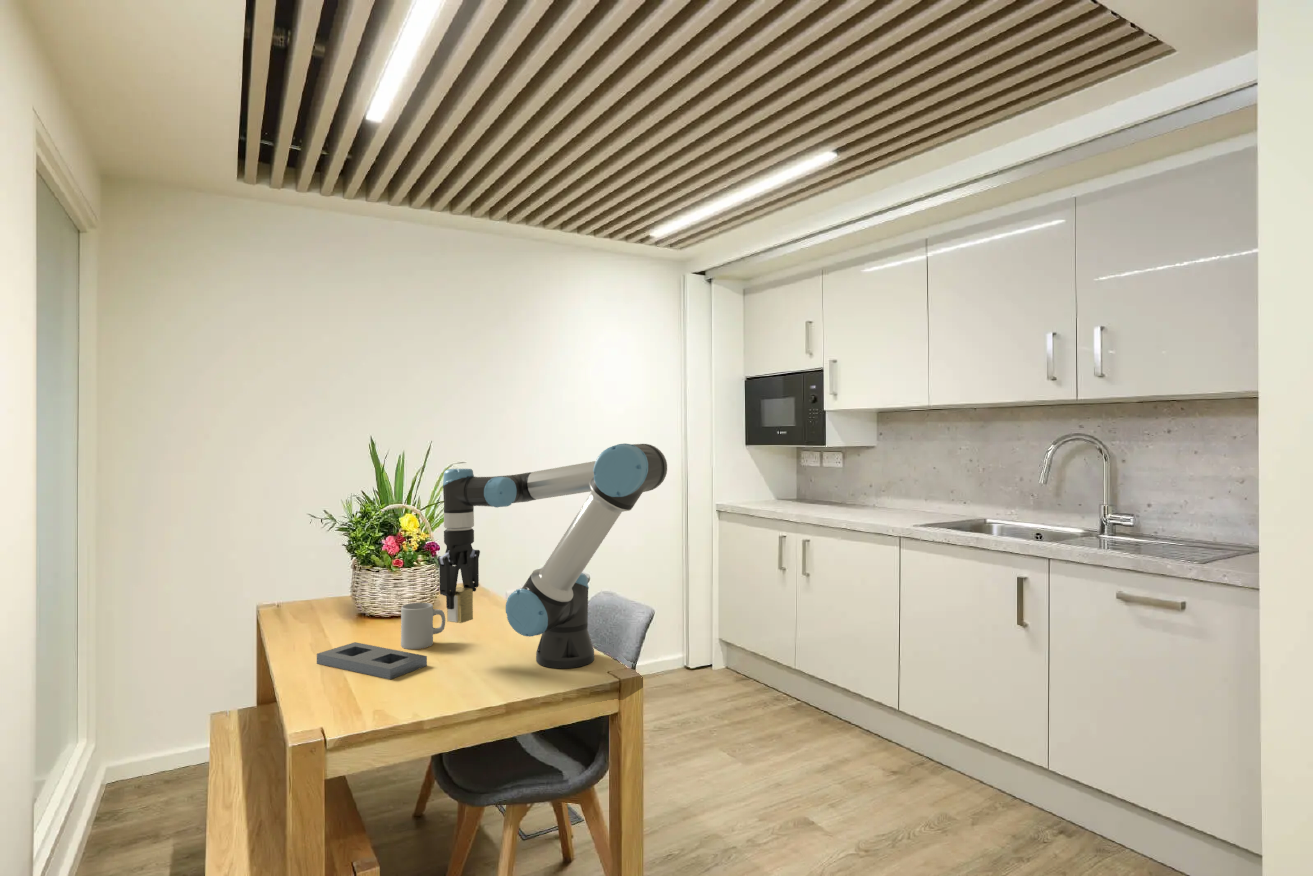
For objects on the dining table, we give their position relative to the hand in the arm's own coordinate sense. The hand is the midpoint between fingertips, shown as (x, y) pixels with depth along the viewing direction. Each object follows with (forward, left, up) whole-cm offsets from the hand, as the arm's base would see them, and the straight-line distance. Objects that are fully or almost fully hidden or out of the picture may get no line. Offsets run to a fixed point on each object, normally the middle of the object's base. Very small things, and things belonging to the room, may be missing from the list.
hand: (460, 618), depth 194 cm
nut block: (0, 0, 0) cm, 0 cm away
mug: (+21, -8, -12) cm, 25 cm away
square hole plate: (+19, +12, -11) cm, 25 cm away
